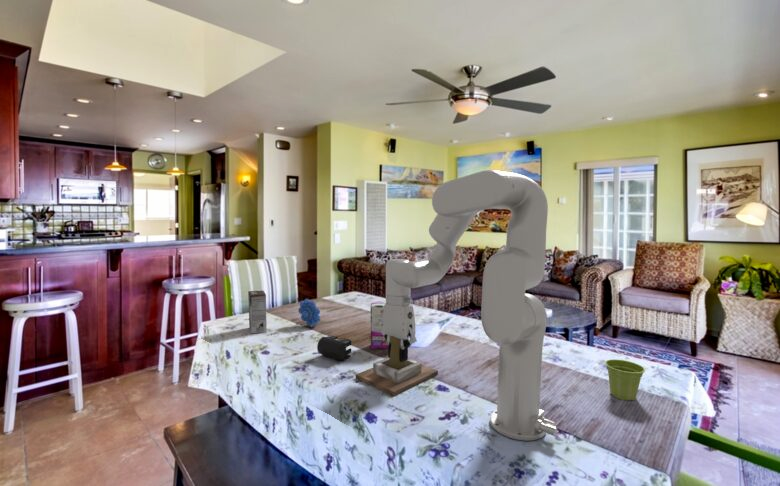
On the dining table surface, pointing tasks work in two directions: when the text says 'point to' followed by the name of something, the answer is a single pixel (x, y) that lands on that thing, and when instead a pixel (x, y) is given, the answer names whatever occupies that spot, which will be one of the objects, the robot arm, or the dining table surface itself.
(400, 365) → the cork
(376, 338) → the candy bar box
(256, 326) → the coffee box
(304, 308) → the blue scalloped wheel
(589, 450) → the dining table surface
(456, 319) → the dining table surface
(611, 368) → the plant pot
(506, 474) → the dining table surface
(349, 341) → the end cap
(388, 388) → the socket board
